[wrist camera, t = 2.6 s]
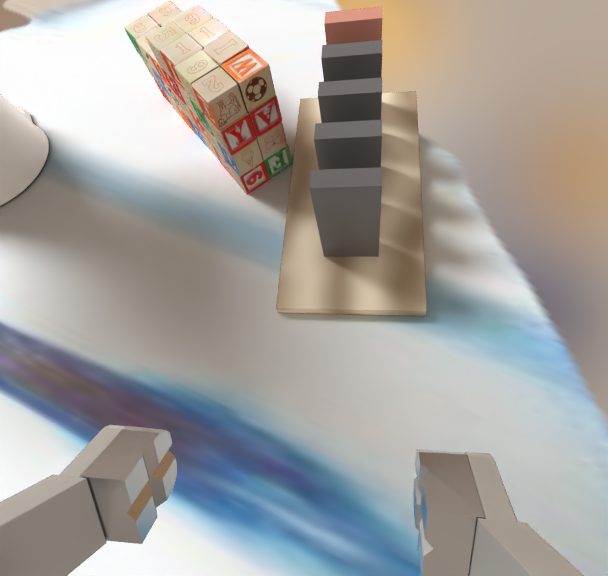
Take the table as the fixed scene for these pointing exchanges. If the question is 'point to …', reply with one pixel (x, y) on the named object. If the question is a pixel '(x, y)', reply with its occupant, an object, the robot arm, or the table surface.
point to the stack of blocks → (216, 89)
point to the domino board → (393, 228)
